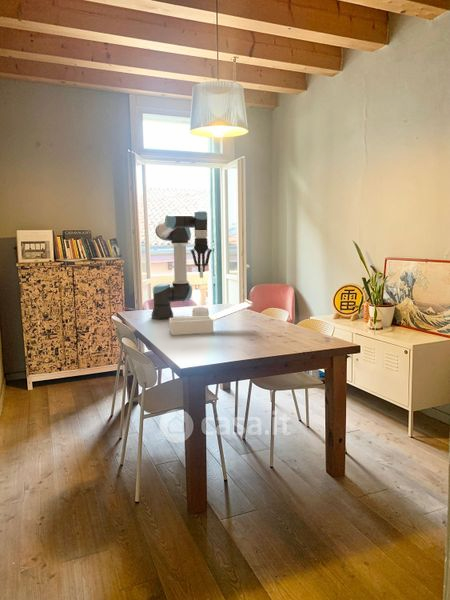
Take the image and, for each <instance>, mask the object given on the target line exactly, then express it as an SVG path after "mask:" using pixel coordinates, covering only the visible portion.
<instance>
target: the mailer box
mask: <svg viewBox="0 0 450 600" xmlns="http://www.w3.org/2000/svg"><path fill="white" fill-rule="evenodd" d="M209 316H210V315H209ZM209 316H198V317H192V316H183V317H182V316H181V317H173V318H169V319H168V324H169V333H170V335H171V336H173V337H175V336H177V335H178V336H189V335H190V336H191V335H207V334H214V320H213V319H212V318H211V317H209Z"/></svg>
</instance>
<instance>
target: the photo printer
mask: <svg viewBox="0 0 450 600" xmlns="http://www.w3.org/2000/svg"><path fill="white" fill-rule="evenodd" d="M209 314H210V313H209V308H208V307H204V306H195V307H193V308H192V313H191V315H192V316H191V317H198V316H210V315H209Z"/></svg>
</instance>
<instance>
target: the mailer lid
mask: <svg viewBox="0 0 450 600" xmlns="http://www.w3.org/2000/svg"><path fill="white" fill-rule="evenodd" d="M253 306H254V303H253V302H252V301H250V300H248V299H244V302H241V303H239V304H237V305H233V306H231V307H229V308H226V309H223V310H221V311H219V312H216V313H214V314H211V315H209V317H211V318H212V319H213V322H214V321H217V320H221V319H222V318H225V317H228V316H230V315H233V314H235V313H237V312H240V311H243V310H245V309H248V308H251V307H253Z"/></svg>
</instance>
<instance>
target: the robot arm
mask: <svg viewBox="0 0 450 600" xmlns="http://www.w3.org/2000/svg"><path fill="white" fill-rule="evenodd" d="M190 228H191V229H192V228H193V229H194V237H195V238H194V246H193V248H192V249H190V253H191V255H192V259H193V262H194V266H196V267H197V272H198V273H199V278H200V279H201V278H202V279H203V278H204V273H205V272H206V269H205V267H207V266H208V265H209V260H210V257H211V253H212V251H213V250H212V248H211V249H210V248H209V245H208V213H207V211H205V210H203V211H202V210H201V211H200V210H199V211H198V210H195V211H194V214H168V215H165V218H164V222H162V223H161V222H160V223H159V224H158V225H156V228H155V235H156V236H157V238H159V240H162V241H166V242H167V241H168V242H169V241H170V242H171V245H172V247H173V269H174V271H173V272H174V273H173V274H174V275H173V276H174V279H173V281H172V283H170V282H169V283H160V284H156V285H154V286H153V288H152V294H153V297H152V298H153V308H152V311H151V314H150V315H151V319H154V320H169V318H174V312H173V309H172V306H171V303H175V302H177V303H180V302H188V301H190V299H191V298H192V294H193V287H192V285H191V284H190V281H188V278H187V277H188V273H187V245H188V244H189V242H190V241H191V239H192V237H191V236H192V233H191V229H190ZM195 252H196V253H197V256H196V253H195ZM206 252H207V254H206ZM205 255H206V256H205ZM171 284H172V285H171Z"/></svg>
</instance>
